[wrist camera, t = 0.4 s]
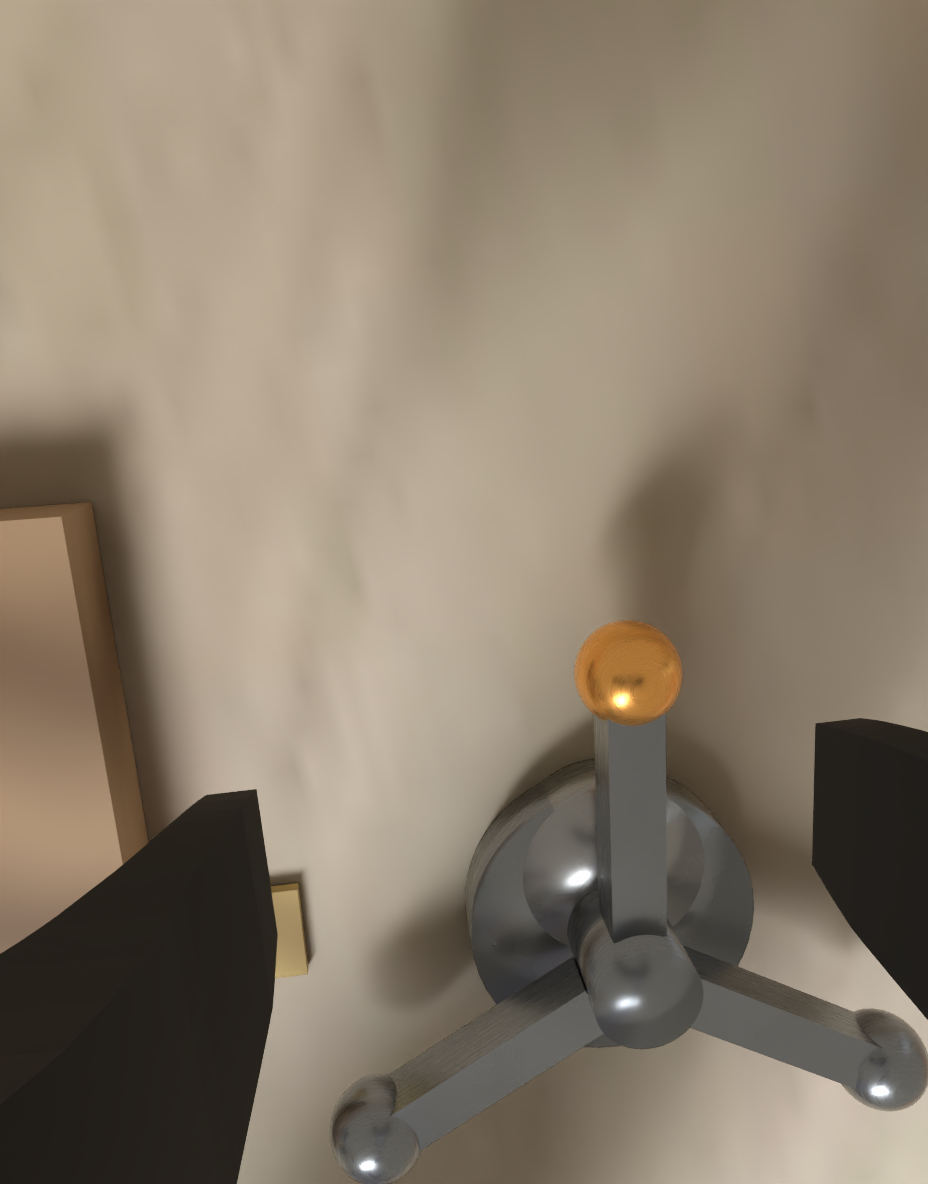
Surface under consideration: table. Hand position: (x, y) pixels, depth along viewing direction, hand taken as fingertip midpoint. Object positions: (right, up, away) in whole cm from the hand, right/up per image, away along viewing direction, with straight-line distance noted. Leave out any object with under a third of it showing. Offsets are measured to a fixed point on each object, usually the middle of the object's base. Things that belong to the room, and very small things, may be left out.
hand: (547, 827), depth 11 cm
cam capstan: (+2, -3, +11) cm, 12 cm away
